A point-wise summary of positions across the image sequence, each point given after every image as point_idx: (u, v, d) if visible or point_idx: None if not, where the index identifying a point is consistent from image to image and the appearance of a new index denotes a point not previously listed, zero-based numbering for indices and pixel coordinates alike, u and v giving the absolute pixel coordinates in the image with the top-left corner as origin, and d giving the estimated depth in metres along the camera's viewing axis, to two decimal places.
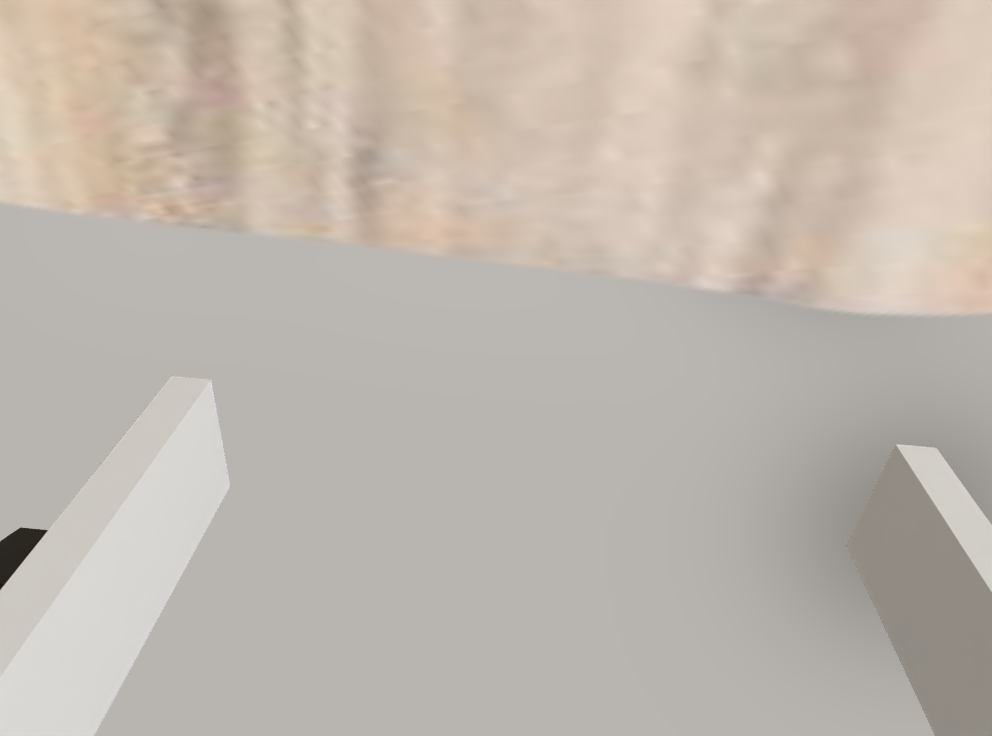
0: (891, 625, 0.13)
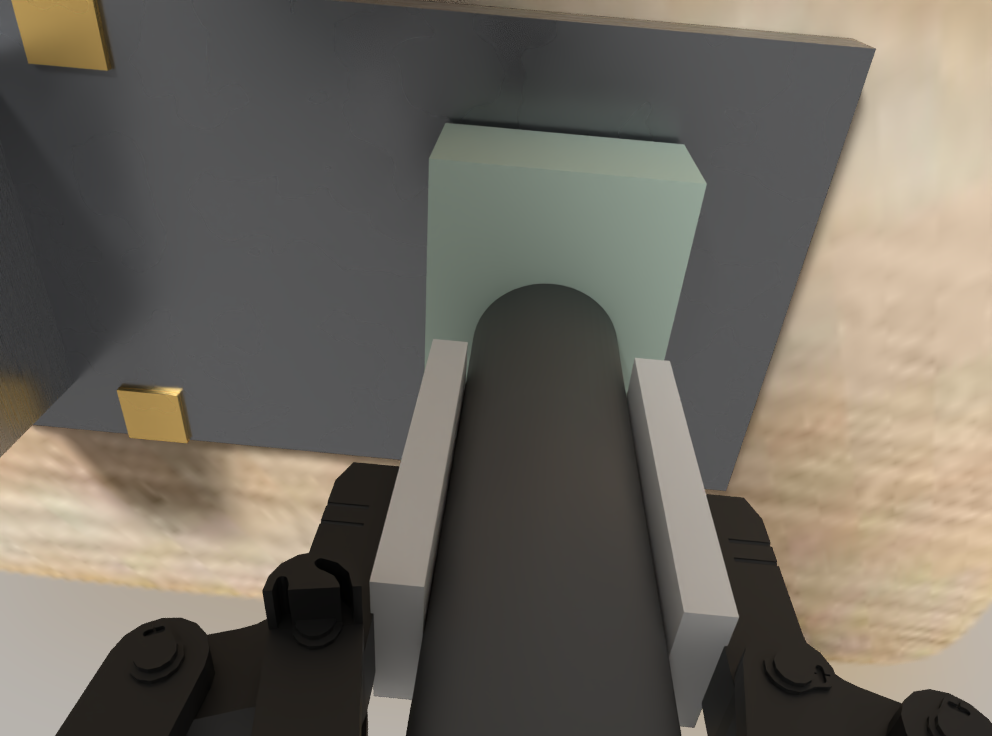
0: None
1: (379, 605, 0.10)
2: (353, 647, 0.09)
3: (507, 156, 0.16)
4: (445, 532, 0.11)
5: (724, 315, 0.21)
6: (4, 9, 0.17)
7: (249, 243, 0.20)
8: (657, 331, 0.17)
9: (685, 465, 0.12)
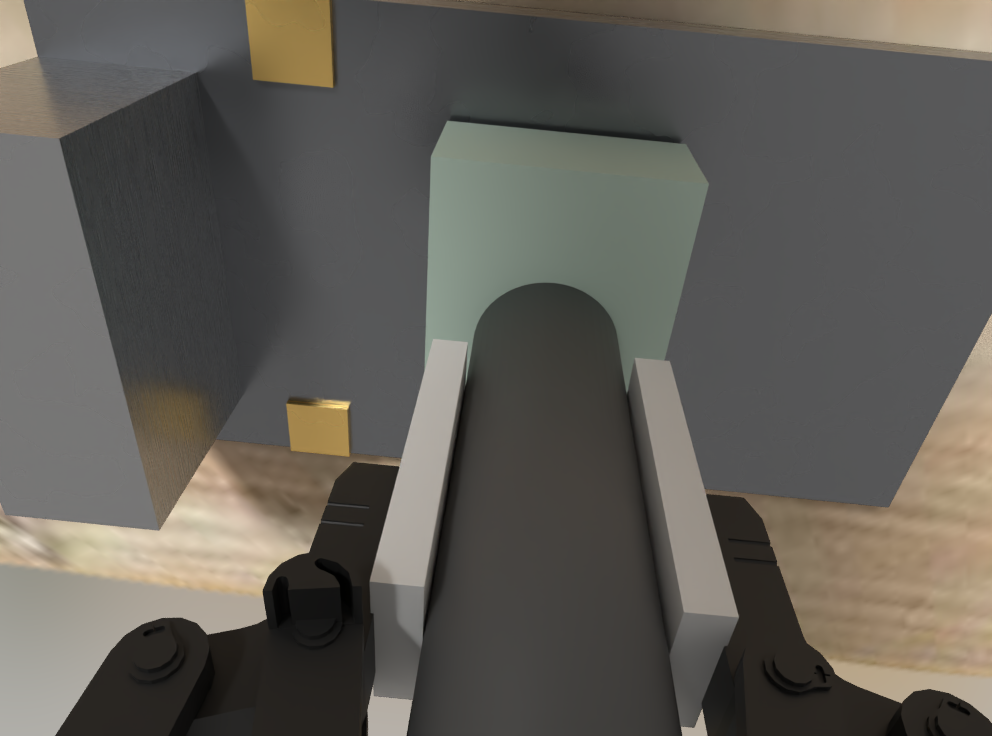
0: None
1: (379, 605, 0.10)
2: (353, 647, 0.09)
3: (509, 154, 0.16)
4: (446, 531, 0.11)
5: (918, 334, 0.21)
6: (235, 25, 0.17)
7: None
8: (658, 331, 0.17)
9: (685, 465, 0.12)
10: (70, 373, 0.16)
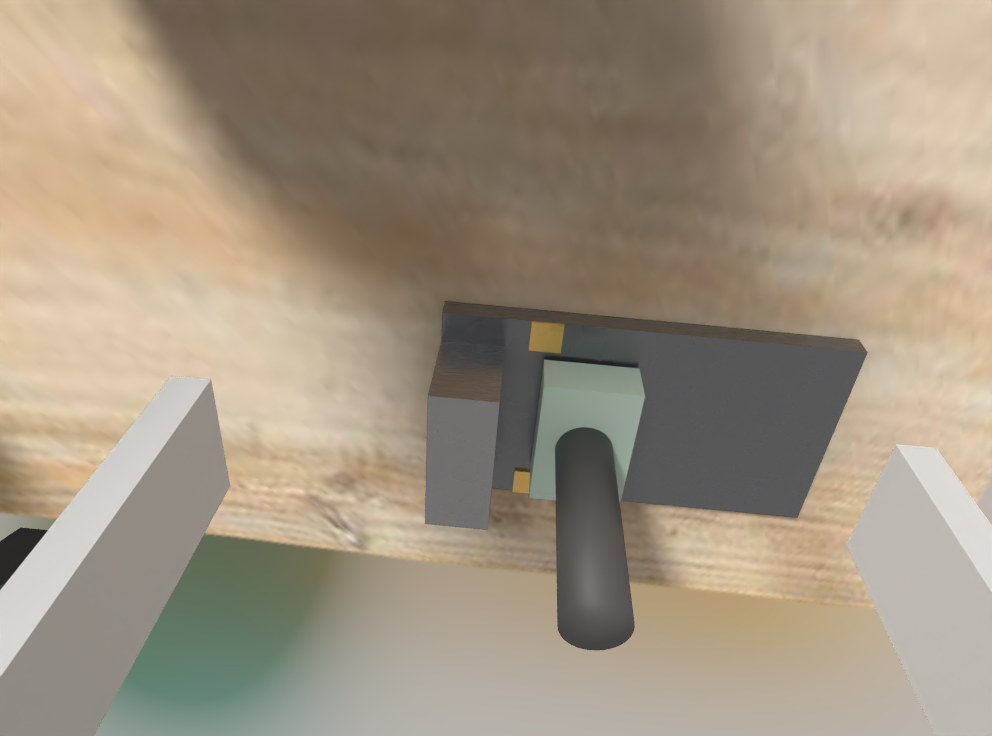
0: (891, 625, 0.13)
1: None
2: None
3: (571, 382, 0.43)
4: (560, 522, 0.38)
5: (802, 442, 0.47)
6: (524, 332, 0.44)
7: None
8: (628, 444, 0.44)
9: None
10: (474, 471, 0.42)
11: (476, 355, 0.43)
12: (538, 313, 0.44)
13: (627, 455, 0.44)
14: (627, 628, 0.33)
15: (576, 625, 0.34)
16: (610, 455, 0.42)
